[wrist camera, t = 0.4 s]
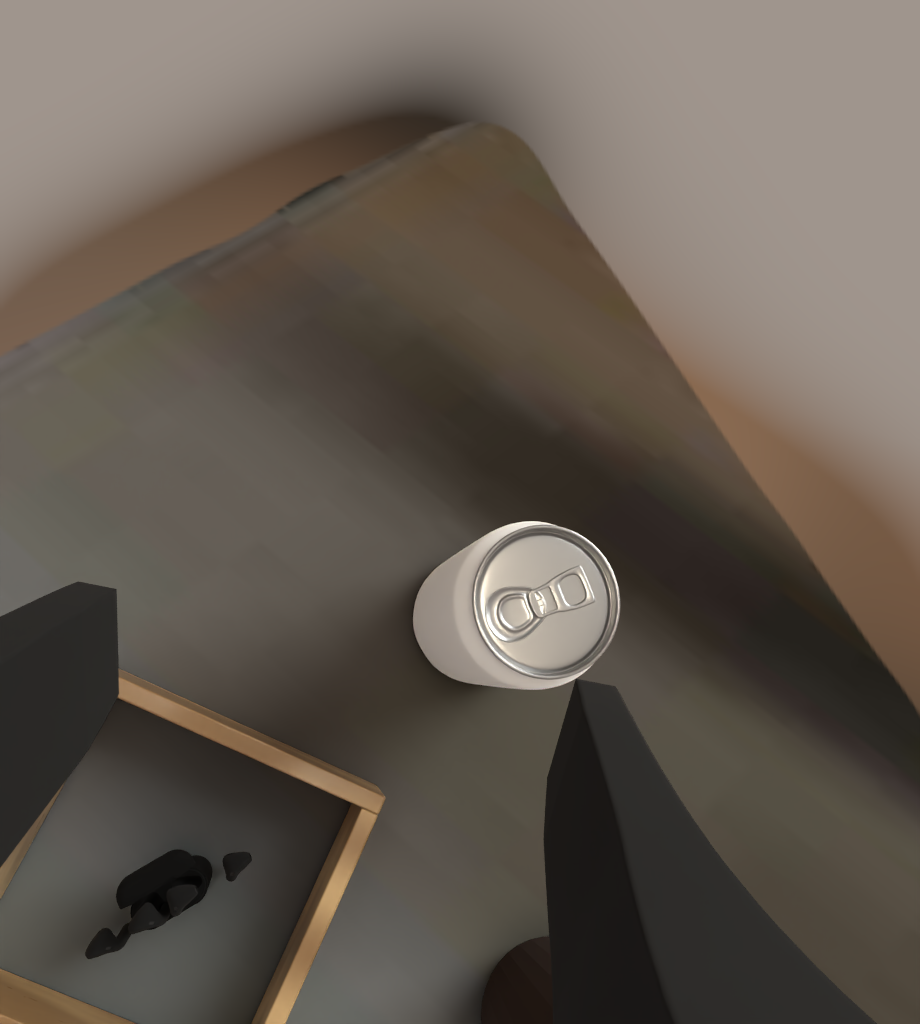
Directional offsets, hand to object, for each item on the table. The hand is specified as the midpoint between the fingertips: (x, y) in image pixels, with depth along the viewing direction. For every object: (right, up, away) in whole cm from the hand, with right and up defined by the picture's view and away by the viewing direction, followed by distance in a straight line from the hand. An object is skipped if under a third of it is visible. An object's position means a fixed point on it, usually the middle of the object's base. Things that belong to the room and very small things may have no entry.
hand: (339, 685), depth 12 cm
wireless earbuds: (-11, -13, +24) cm, 29 cm away
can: (+3, -3, +28) cm, 29 cm away
